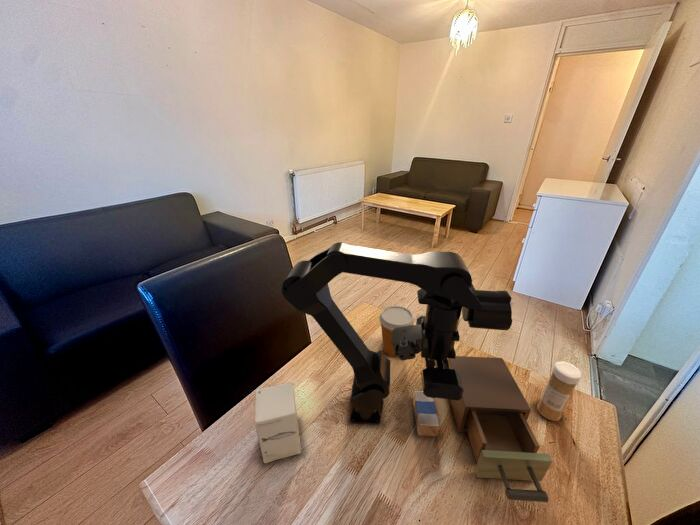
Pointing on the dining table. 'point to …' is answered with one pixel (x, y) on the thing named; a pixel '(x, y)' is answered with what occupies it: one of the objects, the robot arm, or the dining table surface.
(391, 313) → the orange tub
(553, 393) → the sprinkles bottle
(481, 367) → the cabinet
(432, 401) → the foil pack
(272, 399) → the white packaging box
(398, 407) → the dining table surface
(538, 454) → the drawer
